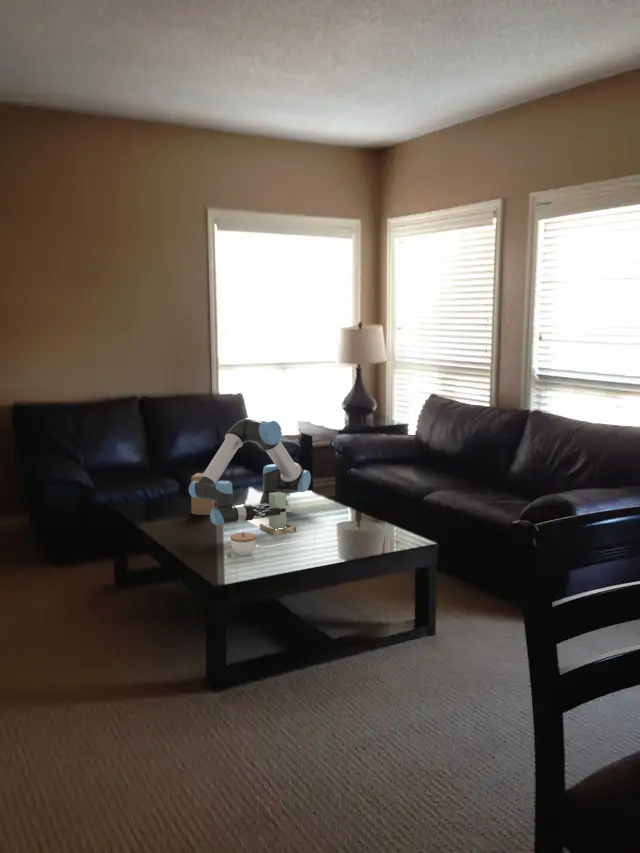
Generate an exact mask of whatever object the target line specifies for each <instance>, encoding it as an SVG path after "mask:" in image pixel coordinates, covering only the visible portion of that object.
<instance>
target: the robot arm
mask: <svg viewBox="0 0 640 853" xmlns="http://www.w3.org/2000/svg"><path fill="white" fill-rule="evenodd" d="M281 439H282V427H281V425H280V424H279V422H278V421H276V420H272V419H269V418H268V419H267V418H266V419H265V418H264V419H263V418H253V417H246V418H243V419H240V420H238V421H237V422H236V423H235V424H234V425H232V426H231V427H230V428H229V429H228V431H227V432H226V434H225V435H224V441H223V442H222V444H221V445H220V447H219V449H218V450H217V452H216V453H215V455H214V456H213V458H212V459H211V461H210V463H209V464H208V466H207V467H206V469H205V470H204V471H203V472H202V473H203V475H202V477H201V478H200V480H199V481H193V482H192V483H191V482H190V484H189V486H188V493H189V495H190V496H192V497H196V498H201V499H207V500H213V501H215V508H214V509H212V510H211V513H210V515H209V517H210V518H209V519H210V521H211V523H212V524H213V525H216V526H217V525H219V526H220V525H226V524H227V525H228V524H232V523H233V524H234V523H237V524H239V523H240V522H248V521H249V520H253V519H255V517H260V516H261V518H266V517H269V516H273V515H280V513H285V512H286V513H290V512H292V505H289V503H288V499H287V498H286V506H284V507H278V508H269V493H274V492H282V493H284V494H286V492H285V491H290V492H291V491H292V492H296V493H304V492H306V491H308V489H309V486H310V484H311V478H312V476H311V473H310V472H311V471H309V470H307V469H303V468H302V466H301V465H300V464H299V463H297V462H295V461H294V460H293V458H292V457H291V454H289V452H288V450H287V449H286V448H285V446H284V445H283V443H282V441H281ZM247 442H249V443H255V444H257V446H258V447H259V448H260V449H261V450H262V451H265V452H266V454H268V457H270V459H271V460H272V462H273V463H271V464H267V465H265V466H264V467H263V470H262V495H261V498H260V501H259V504H253V505H252V504H251V503H248V504H247V503H246V504H238V505H233V503H234V502H233V499H234V498H233V494H234V490H233V483H232V482H231V481H230V480H220V478H221V477H222V475H223V473H224V472H225V471H226V468H227V467H228V466H229V464H230V462H231V461H232V459H233V458H234V455H235V454H236V452H237V451H238V449H239V448H242V447H243V445H244V444H246V443H247Z"/></svg>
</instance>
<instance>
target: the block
mask: <svg viewBox="0 0 640 853" xmlns="http://www.w3.org/2000/svg"><path fill="white" fill-rule="evenodd" d="M203 473H204V472H197V473H195V474H193V475H192V476H191V477H190V478H191V482H190V484H191V483H192V482H193V481H199V480H200V478H201V477H202V475H203ZM190 496H191V495H190ZM190 498H191V504H190V505H191V514H192V515H193V514H194V515H193V516H210V513H211V510H212V509H214V508H216V501H213V500H207V499H201V498H196V497H192V496H191V497H190Z"/></svg>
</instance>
